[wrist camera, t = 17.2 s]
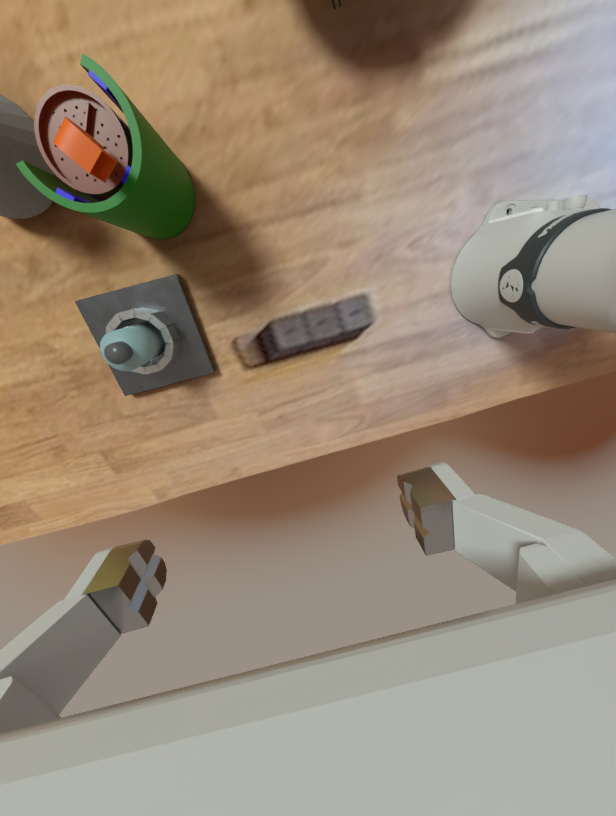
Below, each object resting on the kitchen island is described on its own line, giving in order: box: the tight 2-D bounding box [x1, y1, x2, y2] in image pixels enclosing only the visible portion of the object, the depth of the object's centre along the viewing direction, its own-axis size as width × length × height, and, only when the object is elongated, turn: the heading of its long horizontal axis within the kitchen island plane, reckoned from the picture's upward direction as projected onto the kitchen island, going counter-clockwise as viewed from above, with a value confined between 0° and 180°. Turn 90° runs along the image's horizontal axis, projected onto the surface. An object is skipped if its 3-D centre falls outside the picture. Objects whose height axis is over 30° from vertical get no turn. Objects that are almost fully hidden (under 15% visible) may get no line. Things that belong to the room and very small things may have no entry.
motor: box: [16, 53, 195, 239], centre depth 28 cm, size 10×9×20 cm
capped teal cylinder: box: [100, 322, 166, 371], centre depth 38 cm, size 5×5×10 cm
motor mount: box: [75, 274, 216, 396], centre depth 42 cm, size 14×14×4 cm
